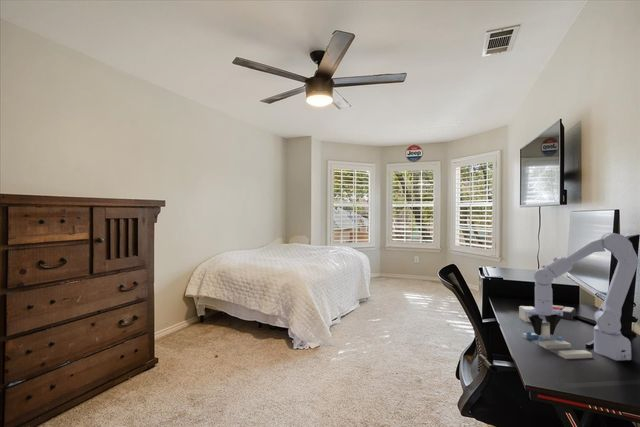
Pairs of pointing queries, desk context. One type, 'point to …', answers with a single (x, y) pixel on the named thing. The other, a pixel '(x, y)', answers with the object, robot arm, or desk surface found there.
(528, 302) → the desk surface
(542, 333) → the cream round-ended cylinder
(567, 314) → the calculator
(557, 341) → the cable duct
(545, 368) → the desk surface
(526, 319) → the cream white cube
